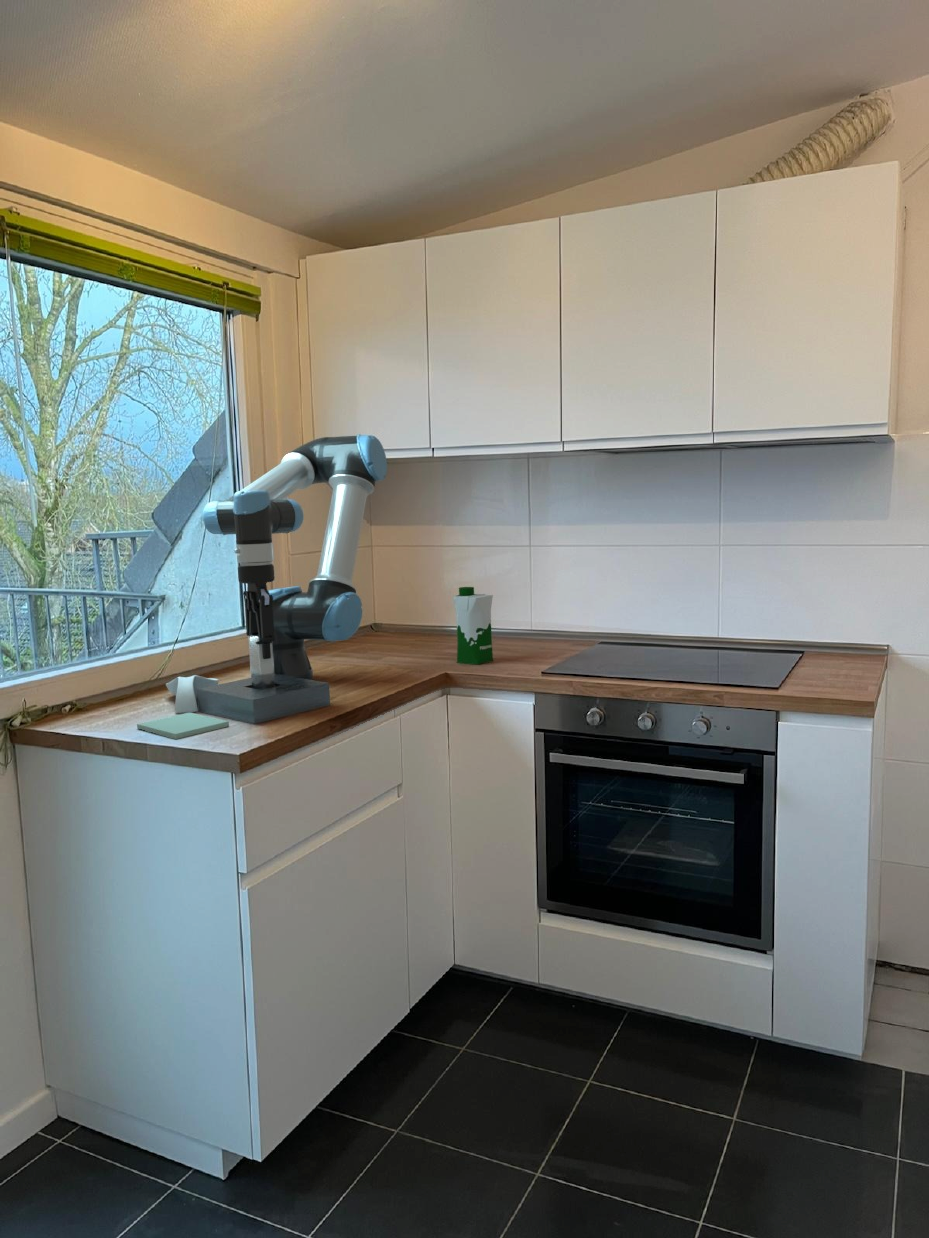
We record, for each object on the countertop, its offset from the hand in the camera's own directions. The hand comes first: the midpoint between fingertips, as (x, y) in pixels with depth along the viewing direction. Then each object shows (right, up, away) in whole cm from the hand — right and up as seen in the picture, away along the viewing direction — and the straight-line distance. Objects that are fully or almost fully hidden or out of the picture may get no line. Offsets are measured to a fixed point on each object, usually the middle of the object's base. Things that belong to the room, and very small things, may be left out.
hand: (262, 671), depth 199 cm
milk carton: (+47, 0, +49) cm, 68 cm away
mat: (-13, -10, -14) cm, 22 cm away
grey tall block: (0, -6, +1) cm, 6 cm away
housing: (0, -8, +1) cm, 8 cm away
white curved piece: (-18, -8, +11) cm, 23 cm away
